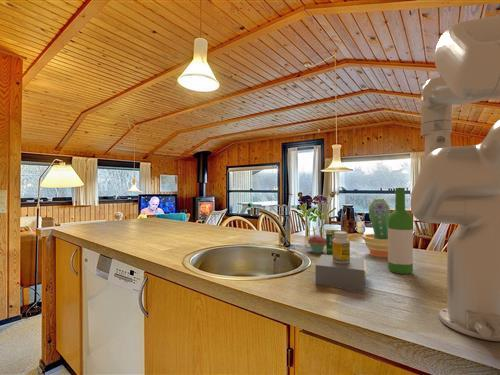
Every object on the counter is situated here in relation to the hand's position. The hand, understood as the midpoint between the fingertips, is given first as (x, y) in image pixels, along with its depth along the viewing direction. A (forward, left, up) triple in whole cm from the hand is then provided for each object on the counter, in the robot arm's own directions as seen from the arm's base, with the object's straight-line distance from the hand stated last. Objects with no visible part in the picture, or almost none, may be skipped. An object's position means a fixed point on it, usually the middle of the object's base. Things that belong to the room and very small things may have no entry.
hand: (436, 186), depth 79 cm
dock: (-3, +27, -30) cm, 41 cm away
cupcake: (+33, +40, -31) cm, 60 cm away
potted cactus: (+38, +13, -31) cm, 50 cm away
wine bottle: (+14, +8, -31) cm, 34 cm away
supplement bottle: (-3, +27, -24) cm, 36 cm away
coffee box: (+17, +30, -31) cm, 46 cm away
